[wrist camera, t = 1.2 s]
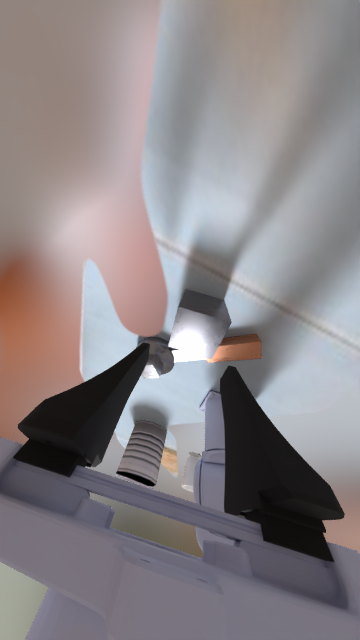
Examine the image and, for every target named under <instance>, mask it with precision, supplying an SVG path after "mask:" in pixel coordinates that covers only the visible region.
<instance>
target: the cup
mask: <svg viewBox="0 0 360 640" xmlns="http://www.w3.org/2000/svg"><path fill="white" fill-rule="evenodd" d="M188 455H189V457H188V458H187V462H186V465H185V470H184V476H183V481H182V487H183V488H184V489H186V490H189V491H192V492H193V483H194V471H195V466H196V463H197V462H198V460H199V459H198V458H200V457H201V458H202V456H201V455H200V454H196V453H189V454H188Z"/></svg>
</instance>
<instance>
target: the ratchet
mask: <svg viewBox="0 0 360 640" xmlns="http://www.w3.org/2000/svg"><path fill="white" fill-rule="evenodd" d="M143 342H145V343H148V344H150V349H149V358H148V362H147V364H146V366H145V369H144V371H143V373H142V376H143V378H159V377H160V375H161V374H166V373H168V372H170V371H171V370H172V368H173V366H174V362H180V361H193V360H205V359H207V362H220V361H234V360H247V359H261V341H260V339H259V337H258V336H257V334H252V335H244V336H235V337H227V338H223V339H222V341H221V343H220V345H219V347H218V349H217V351H216V352H215V354H214V356H213V358H212V359H208V358H205V357H202V356H199V355H195V354H192V353H189V352H185V351H182V350H179V349H175V348H172V347H169V346H168V345H169V343H168V342H167V341H165V340H163V339H161V338H158V337H148V338H145V339H143V340H142V341H141V342H140V343H139V344H138V346H139V345H140V344H142V343H143ZM138 346H137V347H138ZM137 347H136V348H137Z"/></svg>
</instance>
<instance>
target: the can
mask: <svg viewBox="0 0 360 640" xmlns="http://www.w3.org/2000/svg"><path fill="white" fill-rule="evenodd" d="M166 434H167V433H166V431H165V430H164V428H163V427H161V426H159V425H157V424H155V423H152V422H148V421H138V422H136V424H135V426H134V429H133V431H132V434H131V437H130V439H129V442H128V444H127V447H126V449H125V452H124V454H123V457H122V460H121V462H120V465H119V468H118V470H117V472H116V474H115V475H117V476H119V477H122V478H124V479H126V480H128V481H131V482H133V483H136V484H138V485H141V486H144V487H147V488H150V489H153V488H151V487H149V486H154V485H156V482H157V477H158V472H159V467H160V463H161V458H162V453H163V448H164V443H165V438H166ZM153 490H155V489H153Z"/></svg>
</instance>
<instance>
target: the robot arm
mask: <svg viewBox="0 0 360 640" xmlns="http://www.w3.org/2000/svg"><path fill="white" fill-rule="evenodd" d="M149 349H150V344H148V343H145V342H143V343H142V344H140V345H139V346H138V347H137V348H136V349H135V350H134V351H132V352H131V353H130V354H129V355H127V356H126V357H125V358H123V359H122V360H121V361H119V362H118V363H116V364H115V365H113V366H112V367H110V368H109V369H107V370H106V371H104V372H102V373H101V374H99V375H97V376H95V377H93V378H92V379H90V380H88V381H86V382H84V383H82V384H80V385H78V386H75V387H73V388H71V389H69V390H67V391H64V392H62V393H60V394H57V395H55V396H53V397H50V398H48V399H45V400H44V401H43V402H42V403H40V404H39V405H38V406H37V407H36V408H35V409H34V410H33V411H32V412H31V413H30V414H29V415H28V416H27V417H25V418H24V419H23V421H21V422H20V423H19V424H18V429H19V430H20V431H21V432H22V433H23V434H24V435H25V436H27V437H28V438H29V440H28V441H27V442H26V443H25V444H24V445H22V444H20V443H18V442H15V441H12V440H9V439H6V438H2V437H0V562H2V563H4V564H6V565H8V566H10V567H12V568H14V569H16V570H17V571H19V572H21V573H23V574H25V575H27V576H29V577H31V578H33V579H35V580H36V581H39V582H40V583H42V584H44V585H46V586H48V587H49V588H48V590H47V592H46V595H45V597H44V599H43V601H42V603H41V606H40V608H39V610H38V612H37V614H36V616H35V619H34V621H33V623H32V625H31V628H30V630H29V632H28V634H27V636H26V639H25V640H360V554H359V553H358V552H357V551H356V550H352V549H349V548H346V547H343V546H340V545H337V544H333V543H328V542H326V540H325V537H324V535H323V532H324V533H326V529H325V527H324V524H323V522H322V520H336V519H342V518H344V512H343V510H342V508H341V506H340V504H339V502H338V500H337V498H336V496H335V495H334V493H333V491H332V489H331V487H330V485H329V484H328V483H327V482H325V480H323V478H322V477H321V476H320V475H319V474H318V473H317V472H316V471H315V470H313V468H312V467H311V466H309V464H308V463H307V462H306V461H305V460H304V459H303V458H302V457H301V456H300V455H299V454H298V453H297V451H295V449H294V448H293V447H292V446H291V445H290V444H289V443H288V441H287V440H286V439H285V438H284V437H283V436H282V434H281V433H280V432H279V431H278V430H277V428H276V427H275V426H274V425H273V423H272V422H271V421H270V419H269V418H268V417H267V416H266V414H265V413H264V412H263V410H262V409H261V407H260V406H259V404H258V403H257V402H256V400H255V399H254V397H253V395H252V394H251V392H250V391H249V389H248V388H247V386H246V384H245V383H244V381H243V379H242V378H241V376H240V374H239V372H238V371H237V369H236V367H232V366H228V368H227V369H226V371H225V373H224V374H223V376H222V378H221V379H220V393H221V394H220V393H216V392H213V391H210V392H209V394H208V395H207V397H206V398H205V400H204V401H203V403H202V404H201V406H200V408H199V409H200V410H201V411H204V412H205V452H204V451H203V452H202V458H199V460H198V462H197V463H196V466H195V471H194V483H193V493H194V494H193V495H194V503H193V502H190V501H187V500H184V499H181V498H178V497H175V496H172V495H169V494H165V493H162V492H159V491H156V490H153V489H150V488H147V487H144V486H141V485H137V484H134V483H131V482H128V481H125V480H122V479H119V478H116V477H112V476H109V475H106V474H103V473H100V472H97V471H94V470H91V469H88V468H85V466H87V467H91V466H92V467H96V466H97V465H98V464H100V463H101V462H102V459H103V457H104V454H105V452H106V449H107V447H108V444H109V442H110V440H111V437H112V435H113V432H114V430H115V428H116V425H117V423H118V421H119V418H120V416H121V414H122V412H123V409H124V407H125V405H126V403H127V400H128V398H129V396H130V394H131V392H132V391H133V389H134V387H135V385H136V383H137V382H138V380H139V378H140V376H141V374H142V373H143V371H144V369H145V366H146V364H147V362H148V358H149ZM88 491H89V492H92V493H95V494H98V495H101V496H104V497H107V498H110V499H113V500H116V501H119V502H122V503H125V504H128V505H131V506H134V507H137V508H141V509H144V510H146V511H149V512H153V513H156V514H159V515H162V516H165V517H168V518H171V519H174V520H177V521H180V522H183V523H186V524H189V525H192V526H195V530H196V533H197V541H198V544H199V546H200V548H201V549H202V552H203V558H199V557H196V556H193V555H190V554H187V553H184V552H181V551H178V550H176V549H173V548H170V547H167V546H164V545H161V544H158V543H155V542H152V541H149V540H146V539H143V538H141V537H138V536H135V535H132V534H128V533H125V532H122V531H119V530H116V529H113V528H110V525H111V522H112V519H113V516H114V513H115V512H114V510H113V509H111V506H108V505H105V504H102V503H100V502H97V501H95V500H92V499H89V498H90V494H89V492H88Z"/></svg>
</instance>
